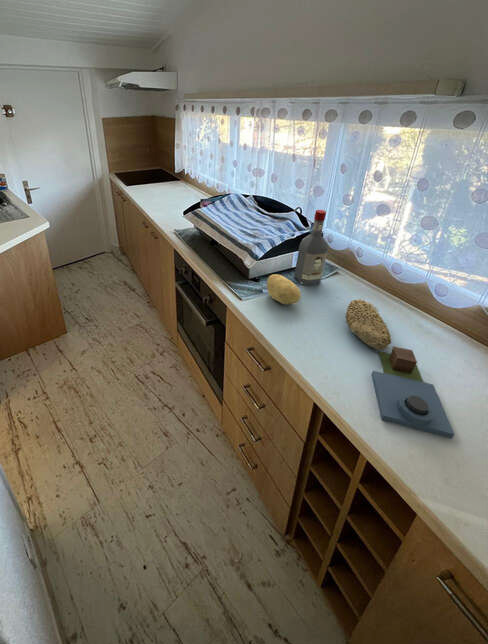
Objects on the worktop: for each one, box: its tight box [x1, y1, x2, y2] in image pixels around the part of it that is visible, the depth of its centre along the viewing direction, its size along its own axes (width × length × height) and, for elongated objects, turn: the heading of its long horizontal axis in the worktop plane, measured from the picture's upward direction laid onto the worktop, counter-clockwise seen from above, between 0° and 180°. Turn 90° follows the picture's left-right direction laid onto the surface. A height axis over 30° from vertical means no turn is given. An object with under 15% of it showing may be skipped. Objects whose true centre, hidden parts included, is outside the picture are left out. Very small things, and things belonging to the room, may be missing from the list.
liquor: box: [293, 209, 329, 287], centre depth 121 cm, size 9×9×30 cm
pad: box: [378, 350, 424, 382], centre depth 86 cm, size 9×9×1 cm
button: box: [406, 396, 428, 415], centre depth 72 cm, size 4×4×2 cm
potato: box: [266, 273, 302, 306], centre depth 113 cm, size 10×14×10 cm
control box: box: [371, 370, 456, 439], centre depth 76 cm, size 14×14×4 cm
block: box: [389, 346, 418, 374], centre depth 85 cm, size 5×5×5 cm
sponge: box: [345, 298, 392, 350], centre depth 98 cm, size 13×8×20 cm
